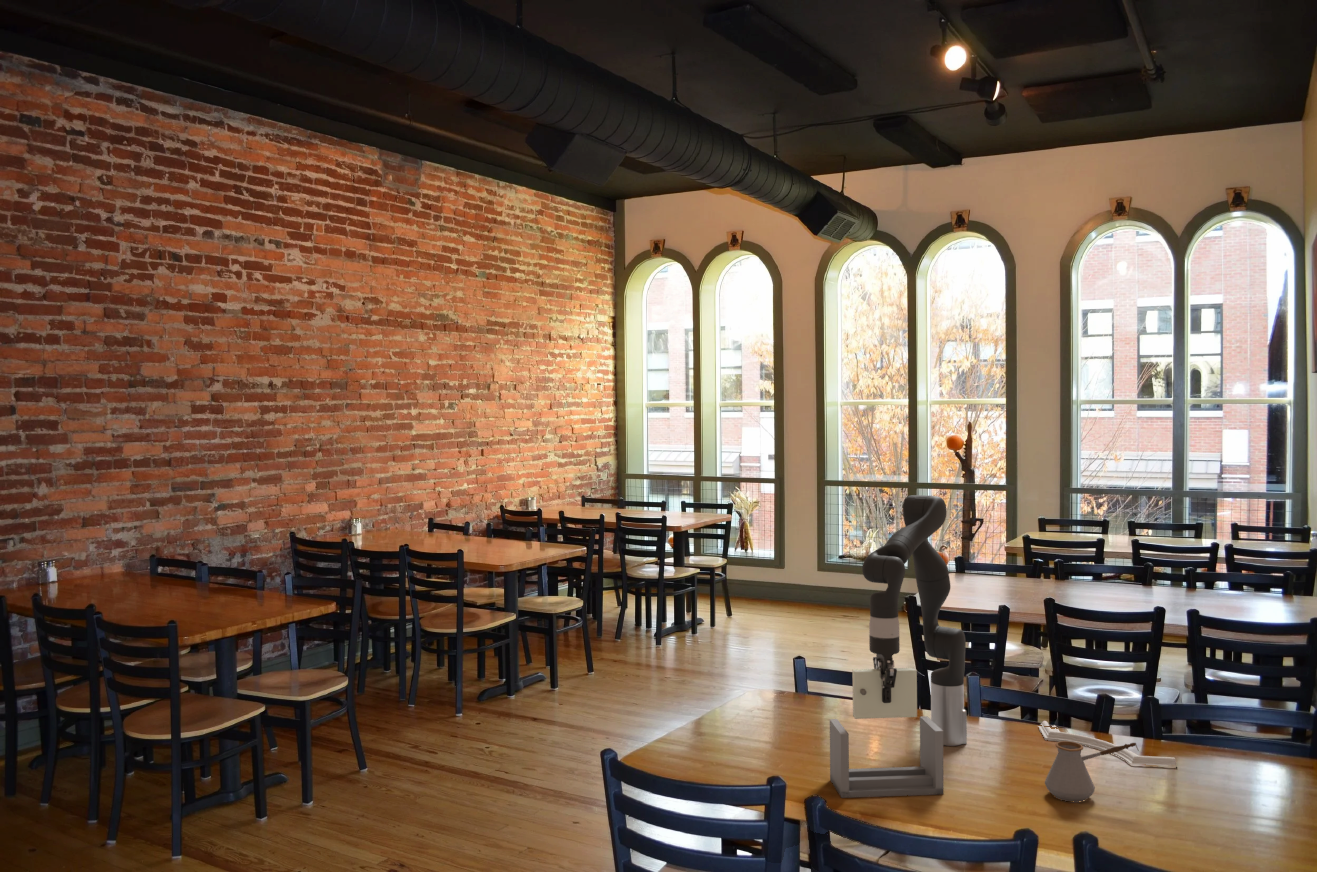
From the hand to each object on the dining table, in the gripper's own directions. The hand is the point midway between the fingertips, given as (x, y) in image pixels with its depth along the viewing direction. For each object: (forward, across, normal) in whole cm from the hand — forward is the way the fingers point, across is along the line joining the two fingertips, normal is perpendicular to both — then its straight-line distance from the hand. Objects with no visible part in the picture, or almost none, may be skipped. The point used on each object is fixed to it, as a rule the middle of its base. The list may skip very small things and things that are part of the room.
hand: (884, 700), depth 249 cm
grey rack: (+22, 0, 0) cm, 22 cm away
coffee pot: (+22, -12, -48) cm, 54 cm away
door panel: (+4, 0, 0) cm, 4 cm away
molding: (+23, +24, -70) cm, 77 cm away
